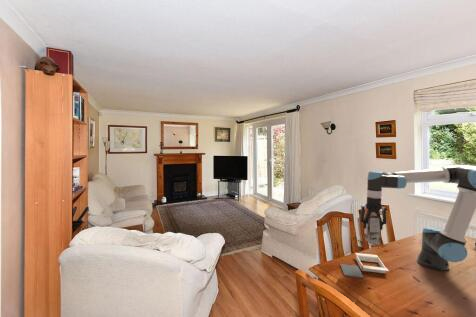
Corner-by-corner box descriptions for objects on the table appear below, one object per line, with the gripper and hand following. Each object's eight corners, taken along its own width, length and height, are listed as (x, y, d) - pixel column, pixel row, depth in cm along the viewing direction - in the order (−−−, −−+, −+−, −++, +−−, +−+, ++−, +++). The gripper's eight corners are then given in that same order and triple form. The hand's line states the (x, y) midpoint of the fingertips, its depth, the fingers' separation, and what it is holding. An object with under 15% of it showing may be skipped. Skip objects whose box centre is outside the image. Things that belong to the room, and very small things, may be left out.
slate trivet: (357, 267, 142) (357, 265, 142) (363, 278, 131) (363, 276, 130) (340, 265, 144) (340, 263, 144) (344, 275, 133) (344, 274, 133)
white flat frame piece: (376, 259, 151) (376, 255, 151) (388, 276, 133) (388, 270, 132) (354, 257, 154) (355, 252, 154) (363, 273, 136) (363, 267, 135)
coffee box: (380, 245, 137) (382, 218, 136) (368, 244, 138) (370, 217, 137) (375, 238, 146) (376, 213, 145) (363, 237, 147) (364, 212, 146)
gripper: (389, 196, 142) (387, 233, 143) (354, 194, 146) (353, 230, 148) (394, 199, 134) (392, 238, 136) (358, 197, 139) (356, 235, 140)
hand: (372, 234), depth 142 cm, fingers closed on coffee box, 6 cm apart
